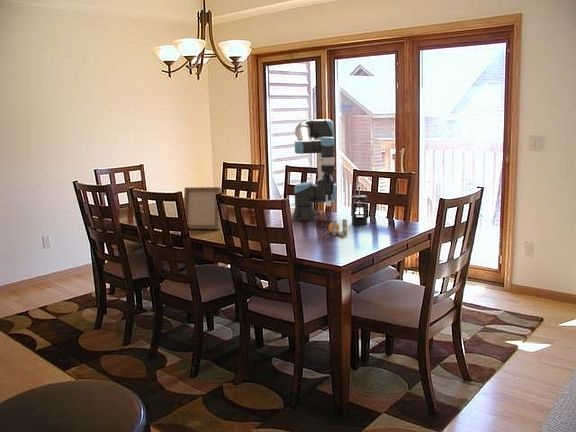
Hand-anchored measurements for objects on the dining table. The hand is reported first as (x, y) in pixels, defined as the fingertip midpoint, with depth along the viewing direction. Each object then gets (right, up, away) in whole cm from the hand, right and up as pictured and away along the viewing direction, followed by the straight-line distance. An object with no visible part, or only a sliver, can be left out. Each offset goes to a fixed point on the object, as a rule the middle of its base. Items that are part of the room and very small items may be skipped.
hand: (328, 205), depth 317 cm
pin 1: (+2, -17, -13) cm, 21 cm away
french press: (+20, -11, +17) cm, 28 cm away
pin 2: (+8, -16, -12) cm, 21 cm away
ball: (+3, -12, -6) cm, 14 cm away
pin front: (+4, -15, -10) cm, 19 cm away
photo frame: (-74, -13, +20) cm, 77 cm away
